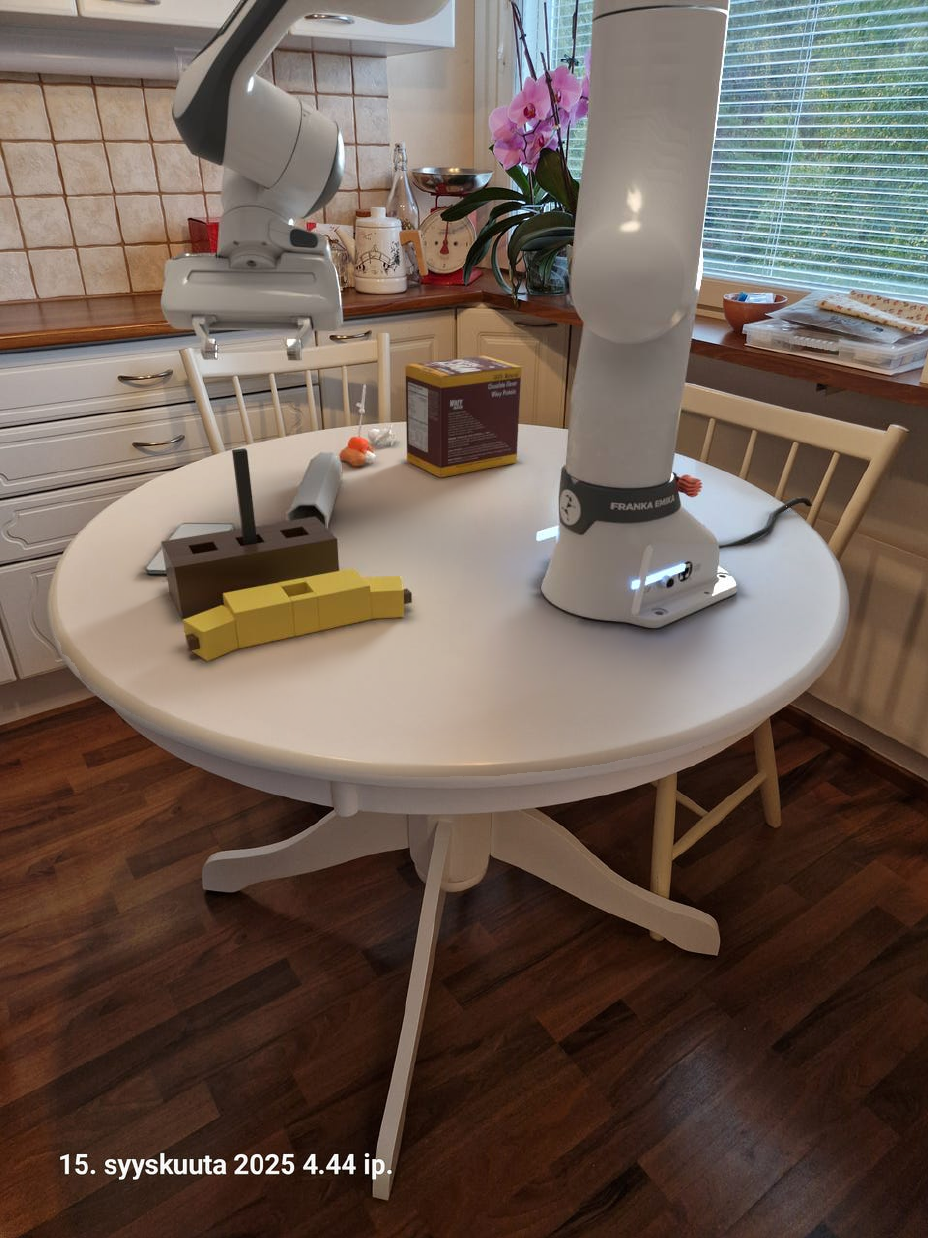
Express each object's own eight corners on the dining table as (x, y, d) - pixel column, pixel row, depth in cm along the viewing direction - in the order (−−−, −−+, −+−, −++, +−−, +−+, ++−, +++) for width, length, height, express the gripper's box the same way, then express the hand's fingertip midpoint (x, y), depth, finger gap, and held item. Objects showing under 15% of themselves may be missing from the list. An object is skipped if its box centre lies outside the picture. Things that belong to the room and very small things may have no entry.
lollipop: (381, 452, 139) (378, 380, 133) (373, 469, 130) (370, 393, 125) (345, 451, 139) (342, 379, 133) (335, 468, 131) (330, 392, 125)
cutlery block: (169, 591, 91) (160, 541, 88) (318, 563, 98) (315, 516, 96) (182, 619, 85) (173, 566, 83) (340, 587, 93) (337, 538, 90)
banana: (181, 637, 82) (175, 602, 80) (393, 592, 92) (393, 560, 90) (193, 664, 77) (187, 627, 76) (415, 614, 87) (415, 580, 85)
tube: (304, 453, 124) (278, 509, 102) (337, 442, 124) (318, 496, 102) (318, 485, 127) (295, 547, 104) (350, 474, 126) (334, 534, 104)
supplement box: (518, 462, 135) (523, 365, 127) (439, 478, 127) (440, 375, 120) (482, 447, 142) (484, 354, 135) (405, 461, 135) (404, 363, 127)
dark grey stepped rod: (262, 585, 93) (246, 447, 85) (264, 589, 92) (249, 450, 84) (246, 588, 92) (229, 449, 84) (248, 592, 91) (232, 452, 84)
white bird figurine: (369, 433, 146) (377, 408, 144) (393, 443, 147) (402, 419, 145) (361, 446, 139) (370, 420, 137) (387, 456, 140) (396, 431, 138)
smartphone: (235, 523, 107) (204, 571, 94) (235, 527, 108) (205, 575, 94) (181, 522, 107) (143, 570, 94) (182, 526, 108) (144, 574, 94)
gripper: (158, 233, 92) (148, 338, 88) (340, 236, 94) (339, 340, 90) (173, 272, 98) (165, 372, 94) (345, 274, 100) (344, 373, 96)
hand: (251, 357), depth 92 cm, fingers open, 8 cm apart
